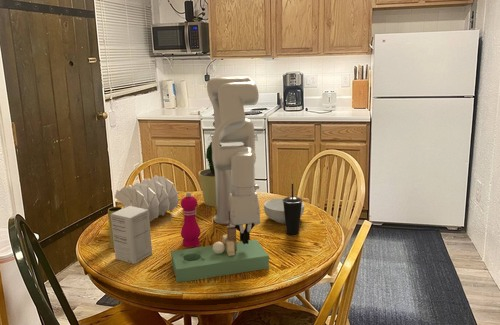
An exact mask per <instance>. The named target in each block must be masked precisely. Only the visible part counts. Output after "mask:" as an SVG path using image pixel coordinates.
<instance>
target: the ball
mask: <svg viewBox="0 0 500 325" xmlns="http://www.w3.org/2000/svg"><path fill="white" fill-rule="evenodd" d="M224 250H225V246H224V244H223V241H216V242H214V244H213V251H214V252H215V253H217V254H221V253H223V252H224Z"/></svg>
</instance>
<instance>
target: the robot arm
mask: <svg viewBox="0 0 500 325" xmlns="http://www.w3.org/2000/svg"><path fill="white" fill-rule="evenodd" d="M206 91H207V96H208V97H209V100H210V102H211V105H212V107H213V108H212V109H213V119H214V120H213V121H214V132H213V136H212V138H211V142H212V159H213V164H214V170H215V181H216V204H217V206H216V214H215V215H214V216H213V221H214V222H215V223H216V224H219V225H225V226H226V225H227V226H229V228H236V231H238V232H239V240H240V241H239V242H241V241H242V243H243V244H248V243H249V242H248V240H251V238H250V237H251V236H250V233H251V232H252V229H253V228H254V227H256V226H258V225H261V220H260V219H261V209H260V202H259V196H258V193H257V191H256V190H259V189H260V185H259V184H256V179H255V178H256V177H255V176H256V174H255V168H256V167H255V164H256V162H257V161H256V159H257V156H256V142H255V141H256V134H255V127H254V123H253V121H252V120H251V119H250V118H246V113H245V109H244V108H245V107H246V106H255V105H256V104H258V101H259V89H258V87H257V84H256V82H255V81H254V80H253V79H252V78H251V77H250V76H222V77H221V76H220V77H219V76H218V77H214V78H210V79H209V80H208V81H207V82H206ZM220 143H221V144H233V143H243V144H238V145H237V144H236V145H222V146H221V147H220ZM244 225H245V227H244Z"/></svg>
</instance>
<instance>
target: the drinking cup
mask: <svg viewBox="0 0 500 325" xmlns="http://www.w3.org/2000/svg"><path fill="white" fill-rule="evenodd" d="M303 200H304V199H303V198H301V197H299V196H294V183H291V196H287V197H284V199H283V204H284V214H285V223H284V224H285V231H286V232H285V234H286V235H288V236H291V237H294V236H298V235H299V234H300V226H301V225H300V223H301V217H302V216H301V206H302V202H303V203H304V201H303ZM300 216H301V217H300Z"/></svg>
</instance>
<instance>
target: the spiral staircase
mask: <svg viewBox="0 0 500 325" xmlns="http://www.w3.org/2000/svg"><path fill="white" fill-rule="evenodd" d="M178 194H179V192H178V190H177V189H176V187H175V185H174V182H172V181H170V180H169V179H168V178H166V176H158V174H155V175H154V176H152V177H151V178H150V177H149V178H146V177H145V178H144V179H143V180H142V181H141V182H136V183H134V184H133V185H131V184H129V185H128V186H127V185H125V186H123V187H122V188H121V189H118V188H117V189H116V192H115V195H114V198H115V199H116V200H117V201H118V202H120V203H121V204H123V207H122V209H124V208H126V207H128V206H133V207H138V208H143V209H147V210H148V211H149V222H150V223H151V222H153V220H155V219H158V218H159V216H160V215H161V216H165V214H166V213H167V211H169V212H170V213H172V212H173V211H174V210H175V209H176V208H178V206H179V200H180V199H179V197H178V196H179V195H178Z"/></svg>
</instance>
